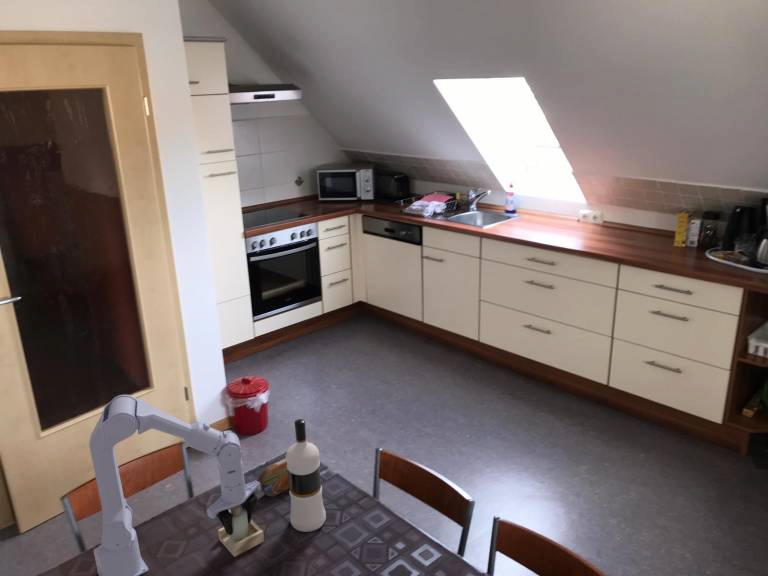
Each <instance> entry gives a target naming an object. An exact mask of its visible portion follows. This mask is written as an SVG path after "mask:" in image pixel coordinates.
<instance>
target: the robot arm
mask: <svg viewBox="0 0 768 576" xmlns="http://www.w3.org/2000/svg"><path fill="white" fill-rule="evenodd" d="M103 407H104V408H103V410H102V412H101V415H100V417H99V419H98V421H97V422H96V425H95V427H94V429H93V430H92V432H91V434H90V437H89V442H88V444H89V445H88V446H89V451H90V455H91V460H92V466H93V470H94V474H95V479H96V484H97V489H98V496H99V499H100V500H99V501H100V504H101V510H102V528H103V529H102V536H101V544H100V545H99V546H97V547H96V548H94V549H93V556H94V558H95V559H94V560H95V563H96V568H97V574H98V576H141V575H143V574H145V573H147V572H148V571H149V567H148V565H147V564H146V562H145V561H144V559H143V558H142V556H141V551H140V546H139V540H138V535H137V532H136V531H137V530H136V529H134V527H133V526H132V524H133V515H134V512H133V509H132V508H131V507H130V506H129V505H128V503H127V499H126V498H125V497H124V491H123V486H122V481H121V476H120V471H119V465H118V460H117V455H116V450H115V446H116V445H118V444H119V443H120V442H123V441H125V440H126V439H129V438H130V437H132V436H133V435H134V434H135V433H136V432H137V435H142V434H143V433H146V432H148V431H150V430H152V429H153V430H155V431H158V432H161V433H165V434H167V435H171V436H174V437H178V438H181V439H183V440H184V441H185V444H186V446H187V447H190V448H193V449H194V450H197V451H200V452H202V453H204V454H207V455H210V456H212V457H215V458H216V461H217V463H218V465H217V466H218V467H217V468H218V474H219V475H218V476H219V483H220V490H221V496H219V498H218V499H217V500H216V501H215V502H214V503H213V504H212V505H210V506H209V507H208V508H207V509H206V514H207V517H208V518H210V519H212V520H215V518H216V517H217V518H218V520H219V521H220V522H221V524H222V526H223V527H224V529H225V531H226V533H228V534H229V535H232V534H233V527H232V518H233V514H231V513H230V512H229V510H230V508H232V507H234V506H237V505H240V504H241V507H243V508H245V509H246V510H247V518H248V523H250V522H251V520H252V517H253V512H254V508H255V505H256V504H257V502H258V496H257V495H256V494H255V492H256V491H257V492H260V491H261V485H260V483H259V482H258V481H257V480H256V479H255V480H254V481H251V482H248V483H246V481H245V474H244V465H243V461H242V457H243V451H242V447H241V444H240V443H241V442H240V438H239V437H238V435H237V433H235V432H234V431H232V430H222V431H221V430H218V429H215V428H213V427H211V426H210V424H209V423H208V422H204V423H201V422H199V421H198V422H197V421H196V422H195V423H191V424H190V423H188V422H186V421H184V420H181V419H179V418H177V417H175V416H173V415H171V414H169V413H167V412H165V411H162V410H161V409H158V408H156V407H155V406H152V405H151V404H149V403H148V402H146V401H145V400H144V399H140V398H135V397H134V396H133V395H130V394H120V395H117V396H115V397H113V398H112V399H111V401H109V402H108V403H107V404H106V405H105V406H103Z"/></svg>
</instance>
